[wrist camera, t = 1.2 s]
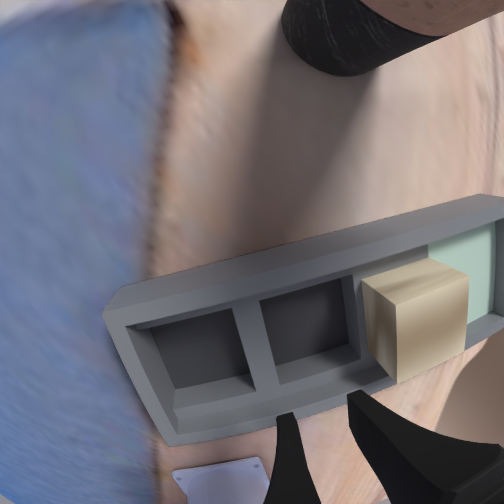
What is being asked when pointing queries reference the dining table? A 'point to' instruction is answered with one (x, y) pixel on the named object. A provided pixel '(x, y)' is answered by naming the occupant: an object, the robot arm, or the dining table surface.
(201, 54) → the dining table surface
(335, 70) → the travel mug
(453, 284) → the birch block
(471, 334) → the tray
